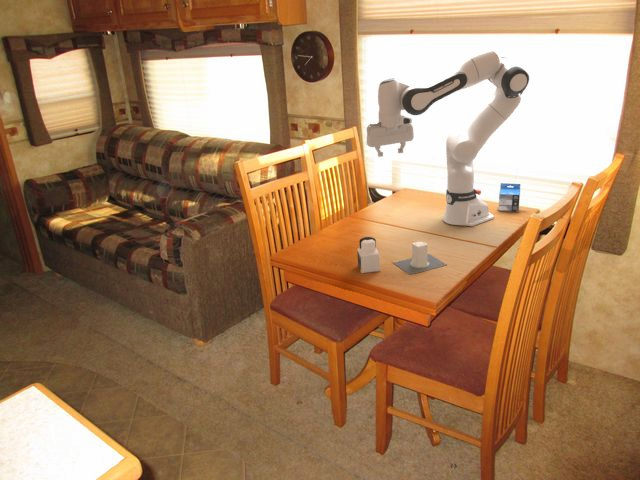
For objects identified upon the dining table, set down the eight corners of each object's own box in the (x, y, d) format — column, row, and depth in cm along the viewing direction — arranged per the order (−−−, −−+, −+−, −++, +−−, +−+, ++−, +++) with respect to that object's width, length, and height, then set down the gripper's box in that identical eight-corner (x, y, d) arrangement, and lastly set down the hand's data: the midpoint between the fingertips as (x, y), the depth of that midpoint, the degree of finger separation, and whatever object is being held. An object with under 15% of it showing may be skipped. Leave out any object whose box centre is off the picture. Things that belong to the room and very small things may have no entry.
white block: (421, 260, 200) (421, 241, 197) (427, 264, 196) (427, 244, 193) (412, 262, 199) (412, 243, 196) (418, 266, 195) (418, 246, 192)
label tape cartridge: (498, 211, 244) (499, 185, 240) (498, 208, 248) (500, 183, 243) (518, 212, 241) (520, 186, 236) (518, 209, 244) (520, 183, 240)
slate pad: (429, 254, 205) (429, 253, 205) (447, 265, 195) (447, 264, 195) (393, 263, 200) (393, 262, 200) (409, 274, 190) (409, 274, 190)
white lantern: (357, 265, 200) (356, 236, 196) (376, 263, 201) (375, 234, 196) (360, 273, 194) (359, 243, 189) (380, 271, 194) (379, 241, 190)
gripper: (370, 125, 206) (371, 160, 211) (415, 118, 213) (415, 152, 218) (363, 123, 212) (364, 157, 217) (407, 116, 218) (407, 149, 223)
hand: (390, 154), depth 217 cm, fingers open, 8 cm apart
